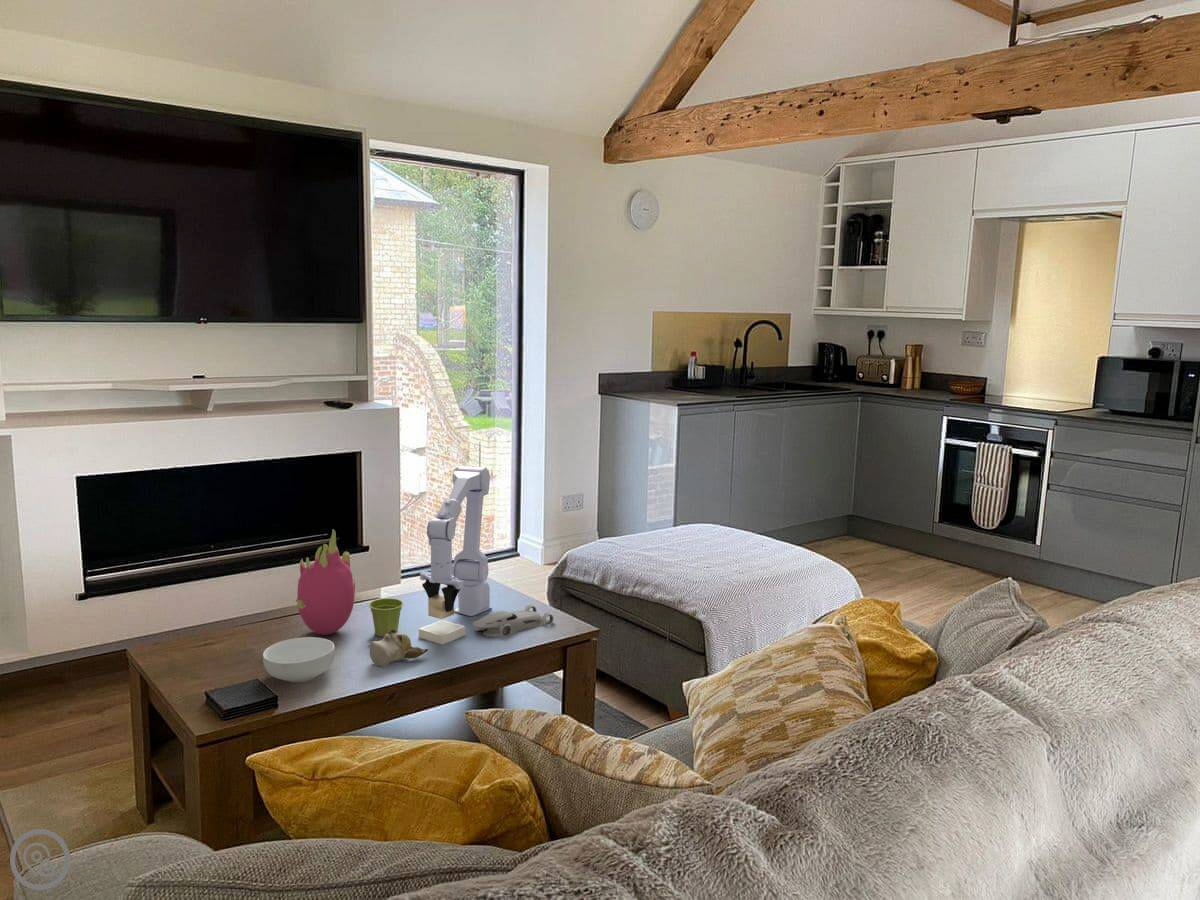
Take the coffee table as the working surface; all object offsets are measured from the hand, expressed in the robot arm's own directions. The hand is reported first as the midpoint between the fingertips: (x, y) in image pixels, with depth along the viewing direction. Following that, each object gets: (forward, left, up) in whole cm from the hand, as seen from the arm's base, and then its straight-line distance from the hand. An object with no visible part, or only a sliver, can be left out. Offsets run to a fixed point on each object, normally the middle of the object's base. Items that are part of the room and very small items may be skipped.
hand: (441, 608), depth 248 cm
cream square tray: (0, 0, -8) cm, 8 cm away
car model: (-18, +10, -9) cm, 22 cm away
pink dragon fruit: (+17, -27, -8) cm, 33 cm away
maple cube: (0, 0, -2) cm, 2 cm away
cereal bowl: (+40, -9, -8) cm, 42 cm away
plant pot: (+7, -14, -8) cm, 18 cm away
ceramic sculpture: (+20, +2, -8) cm, 22 cm away
